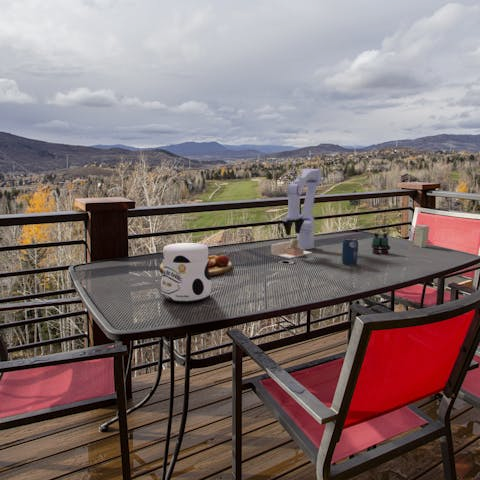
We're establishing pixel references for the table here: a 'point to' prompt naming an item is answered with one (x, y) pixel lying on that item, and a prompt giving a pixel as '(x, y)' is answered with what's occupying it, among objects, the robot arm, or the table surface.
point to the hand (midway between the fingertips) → (292, 233)
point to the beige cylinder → (294, 244)
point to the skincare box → (421, 235)
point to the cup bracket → (287, 250)
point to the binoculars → (380, 244)
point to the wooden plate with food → (216, 264)
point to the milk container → (185, 272)
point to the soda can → (350, 251)
